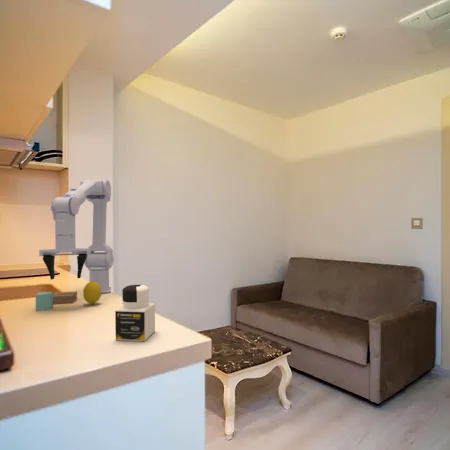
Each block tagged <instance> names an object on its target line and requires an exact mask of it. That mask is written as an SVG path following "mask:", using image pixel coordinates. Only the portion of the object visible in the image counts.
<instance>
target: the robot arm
mask: <svg viewBox="0 0 450 450" xmlns="http://www.w3.org/2000/svg"><path fill="white" fill-rule="evenodd" d="M110 182H111V181H109V179H107V178H105V179H104V178H102V179H87V178H84V179H81V180H80V184H79V187H71V188H70V190H68V192H65V193H64V194H63V195H62V196H59V197H57V196H56V197H55V198H54V199H52V201H51V205H50V211H51V212H52V219H53V221H54V229H55V231H54V233H55V235H54V238H55V240H54V242H55V243H54V244H55V247H54V248H49V249H48V248H47V249H46V248H45V249H39V250H38V251H39V252H38V256H39V257H42V261H43V263H44V265H45V266H46V268H47V271H48V273H49V278H50V281H51V280H54V279H55V275H56V274H55V259H56V257H57V256H76V260H77V276H76V277H77V279H81V277H82V271H83V267H84V266H85V268H86V269H87V270H88V271H89V282H91V281H94V282H96V283H98V284H99V285H100V288H101V294H107V293H108V294H109V293H110V292H111V289H112V287H111V286H110V269H111V268H112V267H113V265H114V260H115V259H114V254H113V253H114V251H113V248H111V247H110V246H109V245H108V244H107V243H106V242H107V241H106V240H107V236H106V235H107V208H108V207H107V205H108V204H107V203H109V202H110V201H111V197H112V187H111V186H112V185H111V183H110ZM86 200H87V201H88V202H90V203H92V205H93V209H92V211H93V212H92V244H91V245H90V246H88V247H87V248H86V247H85V248H84V247H83V248H82V247H81V248H76V215H78V214H79V211H80V207H81V206H82V205H83V204H84V203H85V202H86Z"/></svg>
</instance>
